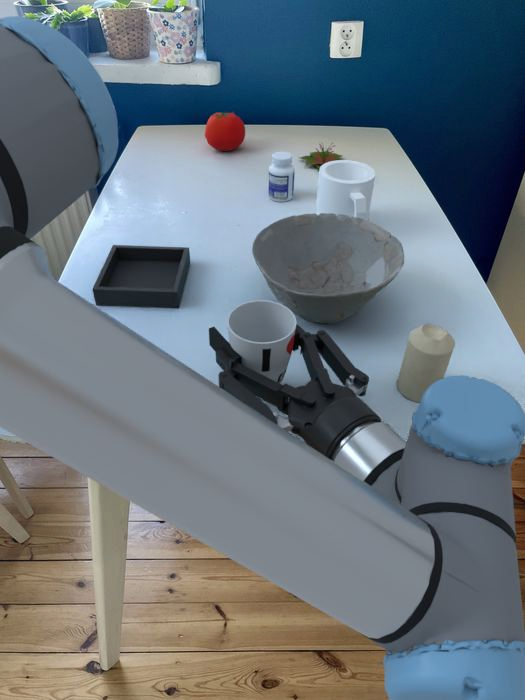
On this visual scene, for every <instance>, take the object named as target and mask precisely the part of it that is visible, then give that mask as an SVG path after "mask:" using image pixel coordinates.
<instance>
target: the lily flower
mask: <svg viewBox="0 0 525 700" xmlns="http://www.w3.org/2000/svg"><path fill="white" fill-rule="evenodd" d="M333 144H334V142H332V143H330V145H329V146H328V147H327V148H326V149H325V146H324V144H323V142H321V143H318V145H319V149H320V150H319V149H318V148H317V147H316V148H315V150H316V151H313V152H309V155H303V156H299V157H298V159H301V160H304V161H306V162H305V164H304V167H307V166H311V165H315V167H316V168H317V169H318V170H320V167H321V166H322V165H323V164H325V163H327V162H330V161H335V160H345V159H344V158H342V157H343V155H341V154H338V153H336V152H334V150H333V148H334V147H336V145H333Z"/></svg>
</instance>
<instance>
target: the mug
mask: <svg viewBox="0 0 525 700" xmlns="http://www.w3.org/2000/svg"><path fill="white" fill-rule="evenodd" d="M375 179H376V170H375V169H374V168H373V167H372V166H370V165H368V164H366V163H363V162H361V161H356V160H349V159H344V160H335V161H330V162H327V163H325V164H323V165H322V166H321V167H320V169H318V181H317V191H316V203H315V213H314V214H317V215H319V214H321V213H325V214H331V213H333V214H336V216H337V215H338V214H341V215H347V216H349V217H350V218H351V217H356V218H361V219H363V220H366V221H369V216H370V210H371V203H372V197H373V191H374V185H375Z"/></svg>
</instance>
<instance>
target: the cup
mask: <svg viewBox="0 0 525 700" xmlns="http://www.w3.org/2000/svg"><path fill="white" fill-rule="evenodd" d="M296 323H297V318H296V314H295V313H293V312H292V311H291V310H290V309H288V308H287V307H286V306H284V305H283V304H282V303H279V302H276V301H272V300H266V299H258V300H257V299H255V300H250V301H245V302H243V303H241V304H239V305H237V306H235V307H234V308H232V309H231V311H230V312H229V313H228V316H227V319H226V325H227V335H228V343H229V344H230V345H231V347H232V348H233V349H234V350H235V351H236V352H237V353H238V354H239V355H240V356H241V362H242V365H244V366H246V367H248V368H250V369H252V370H254V371H256V372H258V373H260V374H262V375H264V376H266V377H268V378H270V379H272V380H274V381H276V382H278V383H280V384H282V381H283V379H284V377H285V375H286V373H287V370H288V367H289V364H290V360H291V357H292V354H293V350H292V349H293V343H294V336H295V330H296Z"/></svg>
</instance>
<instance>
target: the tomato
mask: <svg viewBox="0 0 525 700" xmlns="http://www.w3.org/2000/svg"><path fill="white" fill-rule="evenodd" d="M235 112H236V111H231V112H215V113H213V114H212V115H210V116H209V118H208V120H207V122H206V125H205V129H204V137H205V140H206V141H207V144H208V145H209V146H210V147H211V148H213V149H214V150H217V151H221V152H224V151H225V152H230V151H234V150H236V149H237V148H239V147H240V146H241V145H242V144H243V142H244V141H245V138H246V126H245V123H244V121H243V120H242V119H241V117H240V116H238V115H236V114H235Z"/></svg>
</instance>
